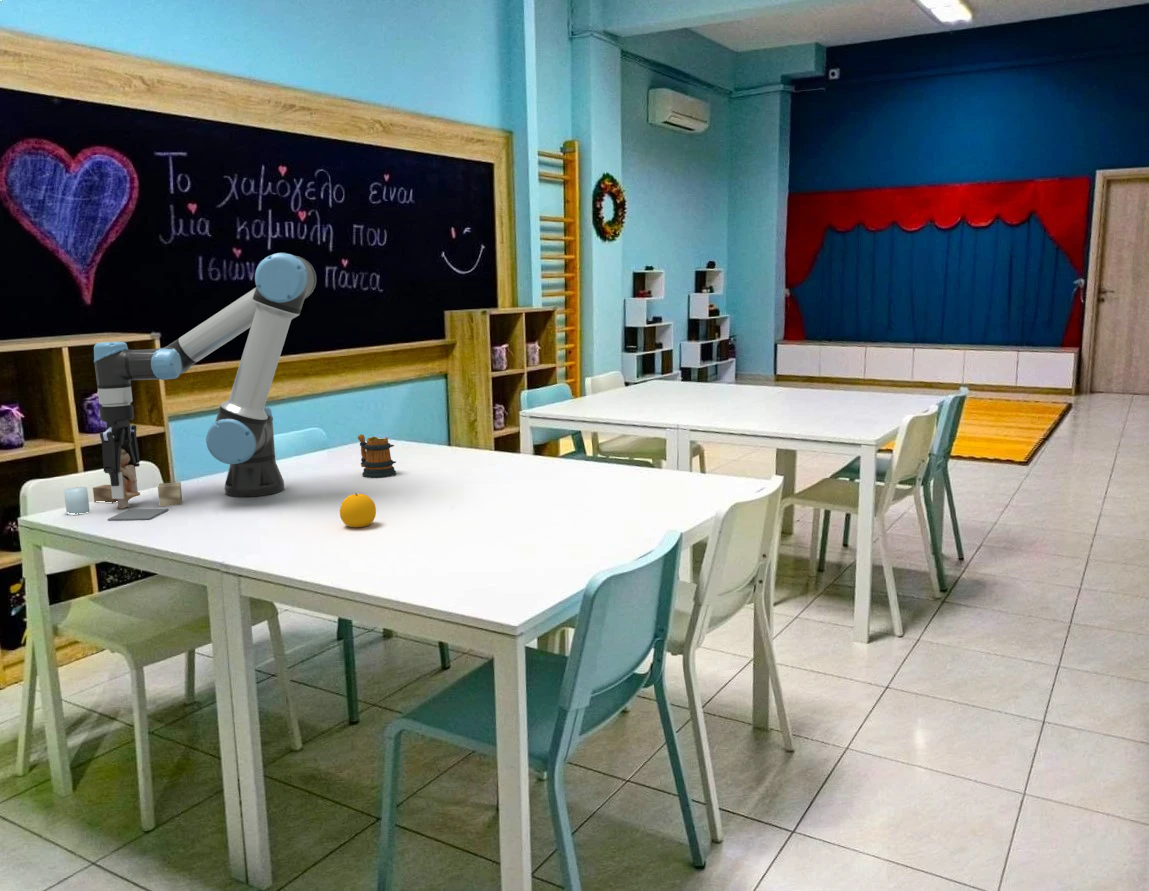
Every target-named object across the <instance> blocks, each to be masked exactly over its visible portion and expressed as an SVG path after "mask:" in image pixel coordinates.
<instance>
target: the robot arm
mask: <svg viewBox="0 0 1149 891" xmlns="http://www.w3.org/2000/svg"><path fill="white" fill-rule="evenodd" d="M254 282H255V286H256V287H254V288H252V289H251V290H250V291H248V292H247V293H245V294H244V295H242V296H240V297H239V298H237V299H236V300H235V301H233V302H231V303H230V304H229V305H227V306H225V307H224V308H222V309H221V310H220V311H218V312H217V313H215V314H213V315H212V316H210V317H209V318H207V319H206V320H204V321H203V322H201V323H199V324H198V325H197V326H195V327H194V328H192V329H191V330H189V331H188V332H186V333H185V334H183V335H182V336H180V337H179V338H178V339H176V340H174V341H173V342H171V343H169V344H168V345H167V346H164V347H159V348H151V349H150V348H149V349H129V347H128V344H127V343H126V342H125V341H109V342H107V341H106V342H97V343H95V345H94V346H93V358H94V359H93V363H94V369H95V370H94V371H95V376H96V378H95V379H96V385H97V386H96V388H97V392H96V394H97V397H98V403H99V405H101V406H100V407H99V418H100V420H101V422H105V423H106V427H105V429H106V430H105V431H102V432H101V431H100V433H99V437H100V442H101V450H102V451H101V452H102V454H101V455H102V466H103V468H102V469H103V472H104V473H105V474H109V473H110V475H109V477H110V478H109V480H110V485H111V491H112V499H123V498H125V497H124V487H123V477H122V472H120V458H121V449H124V450H125V451H126V453H128V454H129V456H130V461H129V462H128V465H133V466H134V468H135V472H136V470H137V469H136V468H137V467H140V462H141V460H140V452H139V444H138V438H137V425H136V424H133V425H132V424H130V423H131V422H130V420H131V421H132V420H133V419H135V414H134V413H135V412H134V405H132V404H131V403H132V402H133V401H134V400H133V392H132V382H131V381H145V380H146V381H148V380H149V381H150V380H151V381H155V380H156V381H157V380H161V381H165V380H167V381H168V380H175V379H177V378H179V377H180V375H182V374H184V373H187V371H189V370H190V368H191V367H192V366H194V365H195V364H196V363H197V362H200V361H201V360H203V359H204V358H205V357H207V356H208V355H210V354H211V353H213V352H214V351H216V350H218V349H219V348H220V347H222V346H224V345H226V344H227V343H228V342H230V341H232V340H233V339H235V338H236V337H237V336H239V335H240V334H242V333H244V332H245V331H247V330H248V329H249V332H248V335H247V339H246V342H245V345H244V348H243V352H242V354H241V359H240V362H239V365H238V368H237V372H236V375H235V378H234V382H233V384H232V388H231V392H230V395H229V399H227V400H226V401H224V402H221V403H220V406H219V410H218V411H217V412H218V413H217V416H216V418H215V422H213V423H212V424H211V426H210V427H209V428H208V431H207V433H206V437H205V443H206V447H207V450H208V451H209V453H210V454H211V456H212V457H213V458H214V459H216V460H217V461H219V462H220V463H223V464H227V465H229V467H228V472H227V474H226V479H225V483H224V494H225V495H226V496H229V497H239V498H240V497H242V498H243V497H261V496H266V495H267V496H268V495H272V494H275V493H276V494H277V493H279V492H280V493H281V492H282V491H283V490H285V481H284V478H283V476H282V474H281V471H280V469H279V467H278V465H277V461H276V452H275V450H276V448H275V434H274V423H273V422H274V421H273V420H274V417H273V413H272V412H273V411H272V409H271V408H270V407H269V406H266V402H267V400H268V396H269V392H270V390H271V387H272V383H273V380H274V377H275V373H276V371H277V368H278V364H279V361H280V358H281V354H282V351H283V347H284V346H285V342H286V338H287V334H288V331H289V328H290V327H291V326H290V325H291V322H292V320H293V319H295V318H297V317H298V316H300V314H301V311H302V308H303V304H304V301H305V299H307V298H308V297H309V296H310V295H311V294H312V293H313V292H314V289H315V288H316V285H317V274H316V271H315V269H314V267H313V265H312V264H311V263H310V262H309V261H308V260H306V259H305V258H304V257H301V256H298V255H294V254H291V253H287V252H277V253H273V254H271V255H268V256H266V257H264V259H262V260H261V261H260V262H259V264H258V265H257V267H256V269H255V273H254ZM136 473H137V472H136ZM135 486H136V491H137V492H139V491H138V483H137V482H136V483H135Z"/></svg>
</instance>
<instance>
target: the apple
mask: <svg viewBox="0 0 1149 891" xmlns="http://www.w3.org/2000/svg"><path fill="white" fill-rule="evenodd" d="M376 514H377V508H376V504H375V502H374V501H373V499H372V498H371V497H370V496H368V495H366V494H363V493H357V492H356V493H354V494H349V495H348V496H346V498H344V499H343V500H342V503H341V505H340V508H339V516H340V519H341V522H343V524H344V525H346V526H348V527H350V528H363V527H367V526H369V525H370V524H372V523H373V522H374V521H375V519H376Z"/></svg>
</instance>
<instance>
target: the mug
mask: <svg viewBox="0 0 1149 891" xmlns="http://www.w3.org/2000/svg"><path fill="white" fill-rule="evenodd" d="M357 440H358V441H359V446H360V454H361V460H360V461H361V462H360V466H361V468H363V472H362V473H361V474H362V477H363V478H365V479H385V478H390V477H394V476H396V475H397V471H396V470H395V466H393V465H394V464H396V463H397V460H396V461H394V460H393V459H392V457H391V450H390V449H391V448H393V447H394V446H395V445H394V444H391V443H390V442H389V437H385V438H378V437H376V436H372V437H368V438H367V439H366V438H365V435H364V434H360V435H358V436H357Z"/></svg>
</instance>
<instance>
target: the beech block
mask: <svg viewBox="0 0 1149 891" xmlns="http://www.w3.org/2000/svg"><path fill="white" fill-rule="evenodd" d="M182 494H183V492H182V482H181V481H178V482H177V481H175V482H164V483H158V486H157V495H158V503H159V507H166V506H169V507H170V506H178V505H182V503H183V495H182Z"/></svg>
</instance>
